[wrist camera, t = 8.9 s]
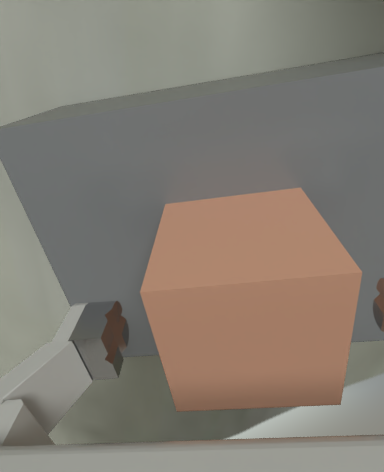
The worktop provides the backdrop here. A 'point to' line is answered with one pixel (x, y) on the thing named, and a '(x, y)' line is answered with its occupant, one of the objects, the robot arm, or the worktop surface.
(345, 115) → the stand
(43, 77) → the worktop surface
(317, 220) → the cube
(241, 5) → the worktop surface
